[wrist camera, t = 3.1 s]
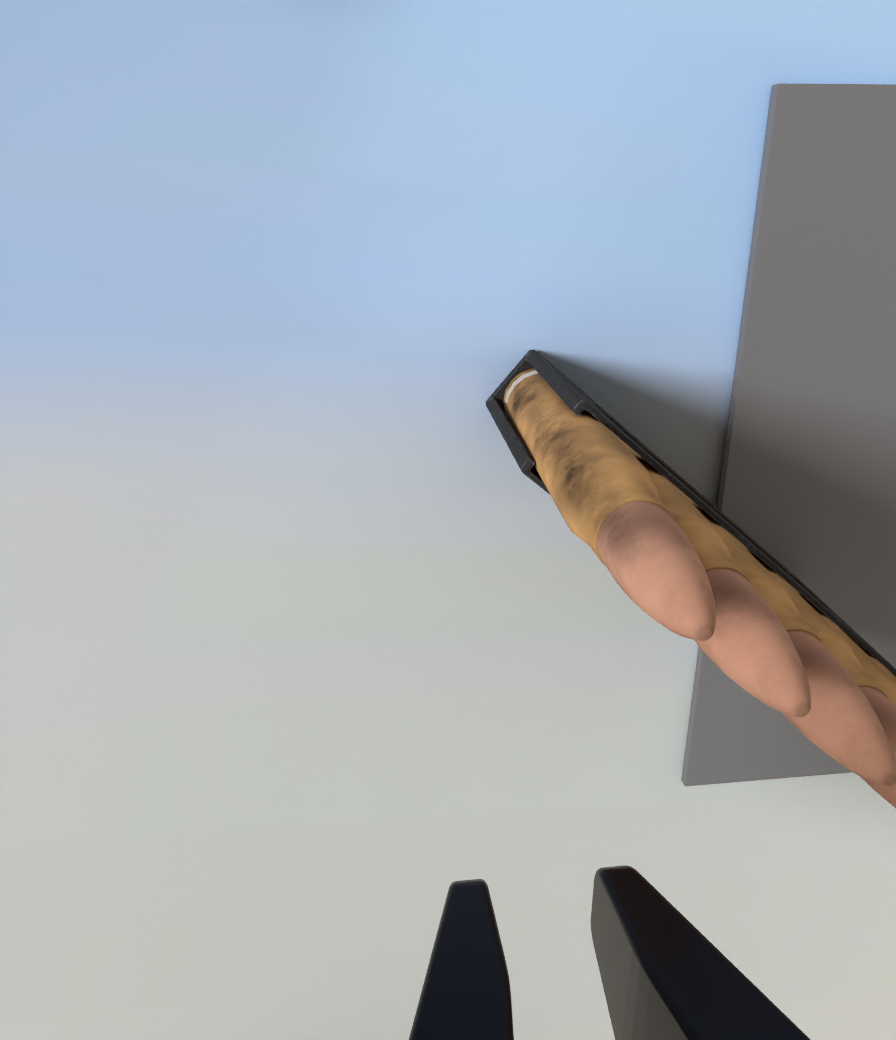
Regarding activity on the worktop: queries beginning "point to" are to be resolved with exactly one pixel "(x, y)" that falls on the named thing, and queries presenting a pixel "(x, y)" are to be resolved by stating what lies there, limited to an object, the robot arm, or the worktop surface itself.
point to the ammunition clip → (701, 571)
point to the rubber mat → (812, 403)
